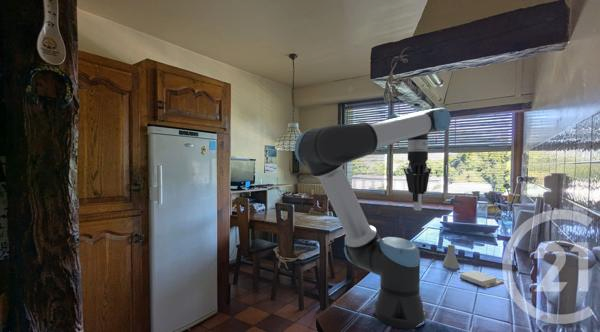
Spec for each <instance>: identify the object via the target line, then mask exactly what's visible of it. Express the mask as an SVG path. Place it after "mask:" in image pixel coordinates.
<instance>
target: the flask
mask: <svg viewBox="0 0 600 332" xmlns="http://www.w3.org/2000/svg"><path fill="white" fill-rule="evenodd" d="M455 248H456V245H454V244H447V253H446V255H445V257H444V260H443V263H442V267H444V268H447V269H450V270H460V269H461V266H460V264H459V262H458V259H457V256H456V255H457V254H456V251H455V250H456V249H455Z"/></svg>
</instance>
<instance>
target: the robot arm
mask: <svg viewBox="0 0 600 332" xmlns="http://www.w3.org/2000/svg"><path fill="white" fill-rule="evenodd" d="M451 119H452V117H451V114H450V112H449V110H448V109H447V108H444V107H439V108H436V107H435V108H433V109H427V110H423V111H421V110H420V111H412V112H409V113H406V114H405V113H404V114H399V113H397V114H395V113H394V114H390V115H388V117H386V120H382V121H381V120H380V121H378V122H374V123H369V122H363V121H362V122H358V123H352V124H333V125H328V126H323V127H318V128H317V127H316V128H310V129H309V130H306V131H304V132H301V134H300V135H299V136H298V137H297V139H296V141H295V144H294V154H295V158H296V160H297V161H298V162H299V163H300V164H301V165H303V166H307V169H308V170H309V173H310V174H311V177H313V178H316V179H318V180H319V182H320V184H321V186H322V188H323V190H324V193H325V195H326V196H327V198H328V200H329V202H330V205H331V207H332V208H333V211H334V213H335V215H336V217H337V218H338V221H339V223H340V226H341V227H342V229H343V232H344V233H345V236H344V247H343V251H344V254H345V257H346V259H347V260H348V262H350V263H351V264H353V265H354V266H356V267H358V268H361V269H363V270H365V271H367V272H370V273H373V274H375V275H376V276H379V278H380V283H379V285H380V286H379V287H380V289H379V291H378V295H377V299H376V301H375V304H374V315H375V317H376V318H377V319H378V320H379V321H380V322H381V323H383V324H385V325H387V326H389V327H393V328H396V329H403V330H404V329H405V330H414V329H417V328H416V326H417V325H418V324H420V323H422V322H423V321H425V320H427V318H426V317H427V315H426V310H425V308H424V305H423V301H422V297H421V293H420V290H421V289H420V282H421V279H420V277H421V276H420V275H421V272H420V271H421V269H420V267H421V266H420V265H421V258H420V249H419V247H418V246H417V245H416V244H415V243H414V242H413V241H410V240H408V239H406V238H402V237H396V236H386V237H383V238H381V237H380V235H379V234H378V231H377V229H376V227H375V226H373V225H372V224H369V222H368V220H367V218H366V215H365V214H364V211H363V209H362V207H361V205H360V203H359V200H358V198H357V196H356V194H355V192H354V189H353V187H352V185H351V183H350V181H349V179H348V176H347V173H346V172H345V170H344V168H343V167H344V165H345V164H347V163H351V162H352V161H355V160H358V159H362V158H364V157H367V156H370V155H372V154H374V153H376V151H377V150H378V149H380V148H384V147H388V146H390V145H394V144H396V143H399V142H403V141H406V140H407V151H408V152H407V161H408V166H407V167H406V168H405V167H404V168H403V173H404V174H405V179H406V185H407V191H408V192H409V193H410V194H412V202H413V211H422V209H423V205H422V202H423V195H424V194H425V193H427V190H428V185H429V180H430V174H431V171H432V169H431V168H430V167H428V165H427V161H428V160H429V152H428V149H429V148H428V147H429V143H428V142H429V139H428V136H429V135H428V134H430V133H434V132H440V131H446V130H448V128H450V126H451V122H452V120H451Z"/></svg>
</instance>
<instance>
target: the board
mask: <svg viewBox="0 0 600 332" xmlns="http://www.w3.org/2000/svg"><path fill="white" fill-rule="evenodd" d="M459 278H460V279H461V280H463V281H464V280H465V281H467V282H470V283H472V284H475V285H478V286H481V285H479V284H476V283H474V282H471V281H468V280H466V279H463V278H461V275H460V276H459ZM501 284H504V281H502V280H500V279H497V278H496V282H494V283H490V284H487V285H483V286H481V287H483V288H485V289H488V288H491V287H494V286H499V285H501Z"/></svg>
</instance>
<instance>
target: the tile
mask: <svg viewBox="0 0 600 332" xmlns="http://www.w3.org/2000/svg"><path fill="white" fill-rule="evenodd" d="M460 276H461V278H463V279H462V280H464V279H466V280H465V281H467V280H468V281H467V282H469V281H471V282H470V283H472V282H474V283H473V284H475V283H476V284H475V285H477V284H479V285H478V286H480V285H481V287H482V286H483V285H487V284H490V283H494V282H496V279H497V277H495V276H492V275H489V274H486V273H483V272H481V271H477V270H471V271H466V272H463V273H460ZM461 278H460V279H461Z"/></svg>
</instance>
